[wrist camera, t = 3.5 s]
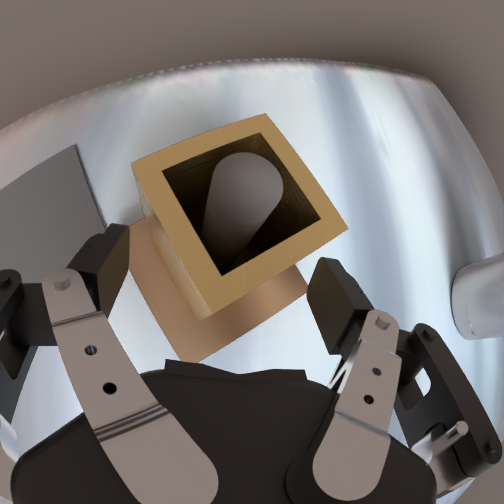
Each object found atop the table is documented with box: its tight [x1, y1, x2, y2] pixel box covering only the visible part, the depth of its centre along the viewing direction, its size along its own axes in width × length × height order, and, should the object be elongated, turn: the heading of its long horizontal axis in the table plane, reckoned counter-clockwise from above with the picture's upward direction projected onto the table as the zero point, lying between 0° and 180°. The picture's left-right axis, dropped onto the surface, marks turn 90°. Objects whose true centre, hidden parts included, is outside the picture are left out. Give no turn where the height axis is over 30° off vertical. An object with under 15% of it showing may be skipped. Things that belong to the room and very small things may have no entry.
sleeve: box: [131, 113, 349, 322], centre depth 14 cm, size 6×6×10 cm
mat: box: [0, 145, 106, 283], centre depth 18 cm, size 11×11×1 cm
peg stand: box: [128, 153, 308, 363], centre depth 14 cm, size 10×10×13 cm
